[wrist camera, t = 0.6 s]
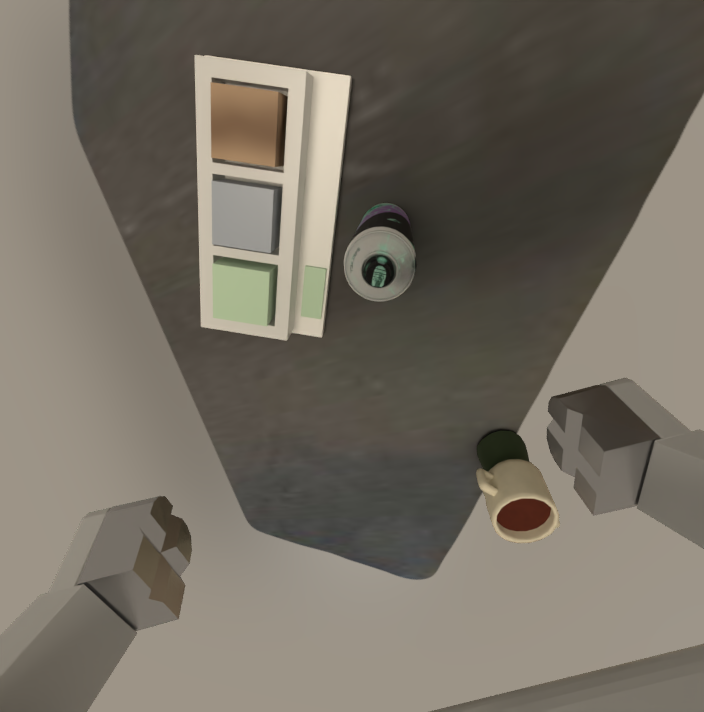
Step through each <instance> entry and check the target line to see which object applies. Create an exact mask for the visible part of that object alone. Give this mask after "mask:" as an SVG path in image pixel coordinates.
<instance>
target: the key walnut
mask: <svg viewBox="0 0 704 712" xmlns="http://www.w3.org/2000/svg"><path fill="white" fill-rule="evenodd" d="M210 84H211V158H217V159H224V160H231V161H237V162H244V163H251V164H257V165H264V166H271V167H279V166H284V153H285V135H286V118H287V100H288V96H286V95H284V94H282V93H280V92H276V91H269V90H262V89H255V88H248V87H241V86H234V85H227V84H220V83H213V82H210Z"/></svg>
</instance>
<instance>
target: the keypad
mask: <svg viewBox="0 0 704 712" xmlns="http://www.w3.org/2000/svg"><path fill="white" fill-rule="evenodd" d="M210 82H213V83H220V84H227V85H234V86H241V87H248V88H255V89H262V90H269V91H276V92H280V93H282V94H284V95H286V96H288V100H287V118H286V135H285V153H284V166H279V167H271V166H264V165H257V164H251V163H244V162H237V161H231V160H224V159H217V158H211V84H210ZM351 85H352V77H351V76H347V75H340V74H333V73H326V72H319V71H312V70H305V69H298V68H291V67H284V66H277V65H270V64H263V63H256V62H249V61H242V60H235V59H228V58H221V57H214V56H207V55H205V56H200V55H195V92H196V135H197V177H198V219H199V261H200V303H201V327H206V328H212V329H218V330H224V331H231V332H237V333H243V334H249V335H256V336H262V337H268V338H274V339H280V340H288V338H289V336H290V335H291V333H297V334H303V335H310V336H316V337H322V336H323V333H324V326H325V317H326V308H327V299H328V290H329V281H330V272H331V263H332V254H333V245H334V236H335V227H336V218H337V209H338V201H339V192H340V183H341V174H342V165H343V156H344V147H345V138H346V129H347V120H348V111H349V102H350V93H351ZM219 179H231V180H238V181H244V182H251V183H258V184H264V185H271V186H278V187H283V188H282V205H281V223H280V240H279V247H278V248H276V249H275V250H274V251H273V252H271V253H266V252H260V251H253V250H247V249H240V248H234V247H228V246H221V245H215V244H212V180H219ZM222 257H230V258H236V259H243V260H249V261H255V262H262V263H268V264H275V265H278V275H277V292H276V310H275V316H274V318H273V319H272V320H271V322H270V323H269V324H268V326H261V325H255V324H249V323H242V322H236V321H230V320H224V319H217V318H213V274H212V264H213V263H214V262H216V261H218V260H219V259H221V258H222Z"/></svg>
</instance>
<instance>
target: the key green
mask: <svg viewBox="0 0 704 712" xmlns="http://www.w3.org/2000/svg"><path fill="white" fill-rule="evenodd" d="M212 274H213V318H217V319H224V320H230V321H236V322H242V323H249V324H255V325H261V326H268V324H269V323H270V322H271V320H272V319H273V318H274V316H275V310H276V292H277V275H278V265H275V264H268V263H262V262H255V261H249V260H243V259H236V258H230V257H222V258H221V259H219V260H218V261H216V262H214V263H213V264H212Z"/></svg>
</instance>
